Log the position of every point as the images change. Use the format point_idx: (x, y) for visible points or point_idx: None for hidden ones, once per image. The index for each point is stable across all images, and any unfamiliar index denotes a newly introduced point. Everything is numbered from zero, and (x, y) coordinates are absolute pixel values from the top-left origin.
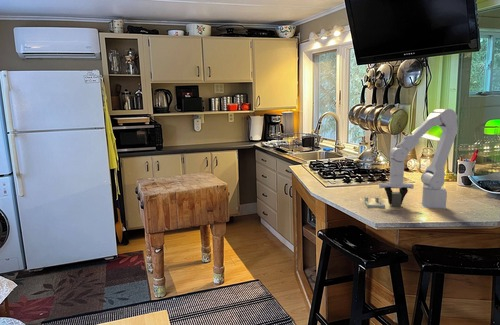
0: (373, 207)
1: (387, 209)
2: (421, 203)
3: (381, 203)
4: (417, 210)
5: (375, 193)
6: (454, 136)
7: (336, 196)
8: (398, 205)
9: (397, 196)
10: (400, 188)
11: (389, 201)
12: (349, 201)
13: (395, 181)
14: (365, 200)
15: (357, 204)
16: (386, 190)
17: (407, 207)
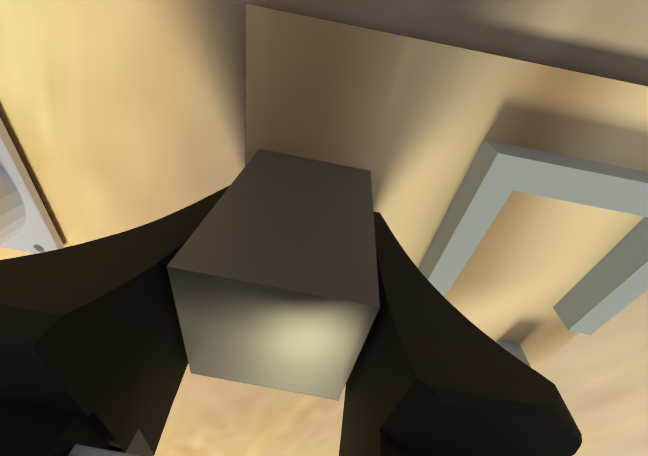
0: (637, 172)
1: (502, 59)
2: (33, 236)
3: (479, 240)
4: (68, 32)
5: (313, 432)
6: None
7: (588, 445)
8: (283, 163)
9: (271, 247)
10: (125, 442)
11: (390, 233)
12: (608, 378)
13: None
14: (523, 356)
15: (624, 318)
16: (571, 432)
17: (179, 172)
